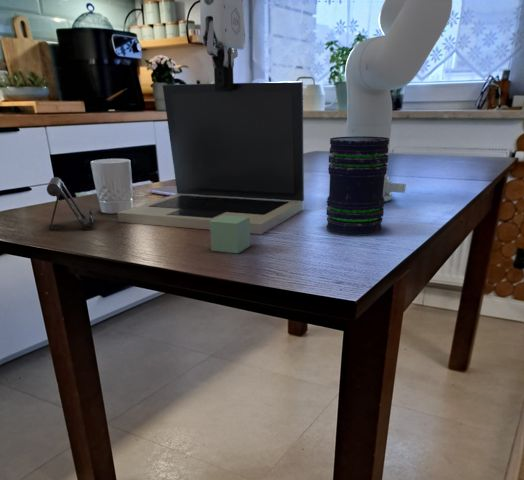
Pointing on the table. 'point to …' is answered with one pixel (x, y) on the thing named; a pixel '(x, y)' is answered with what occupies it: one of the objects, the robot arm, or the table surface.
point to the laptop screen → (237, 139)
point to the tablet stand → (56, 190)
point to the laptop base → (211, 211)
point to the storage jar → (356, 185)
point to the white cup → (113, 184)
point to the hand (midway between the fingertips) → (224, 91)
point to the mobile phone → (165, 190)
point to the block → (230, 234)
